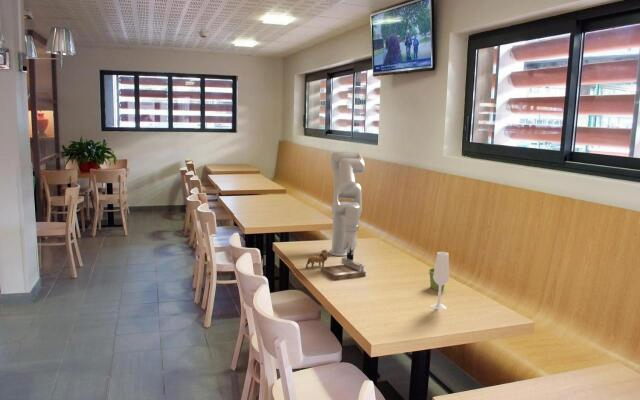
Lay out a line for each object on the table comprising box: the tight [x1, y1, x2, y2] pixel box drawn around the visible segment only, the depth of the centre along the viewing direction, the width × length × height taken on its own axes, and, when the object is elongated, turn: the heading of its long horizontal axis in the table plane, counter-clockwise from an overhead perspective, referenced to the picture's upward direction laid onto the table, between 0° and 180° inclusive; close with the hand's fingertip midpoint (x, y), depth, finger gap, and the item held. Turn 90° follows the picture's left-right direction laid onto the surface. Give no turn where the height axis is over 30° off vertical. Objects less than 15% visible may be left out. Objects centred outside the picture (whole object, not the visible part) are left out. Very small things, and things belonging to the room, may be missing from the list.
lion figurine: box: [305, 249, 329, 270], centre depth 270 cm, size 15×5×9 cm, turn 131°
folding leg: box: [340, 257, 365, 272], centre depth 264 cm, size 16×2×3 cm, turn 34°
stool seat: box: [320, 264, 367, 281], centre depth 261 cm, size 18×15×2 cm
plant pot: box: [428, 267, 445, 291], centre depth 244 cm, size 9×9×9 cm
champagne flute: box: [430, 251, 450, 311], centre depth 218 cm, size 7×7×24 cm
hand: (349, 261), depth 272 cm, fingers closed
